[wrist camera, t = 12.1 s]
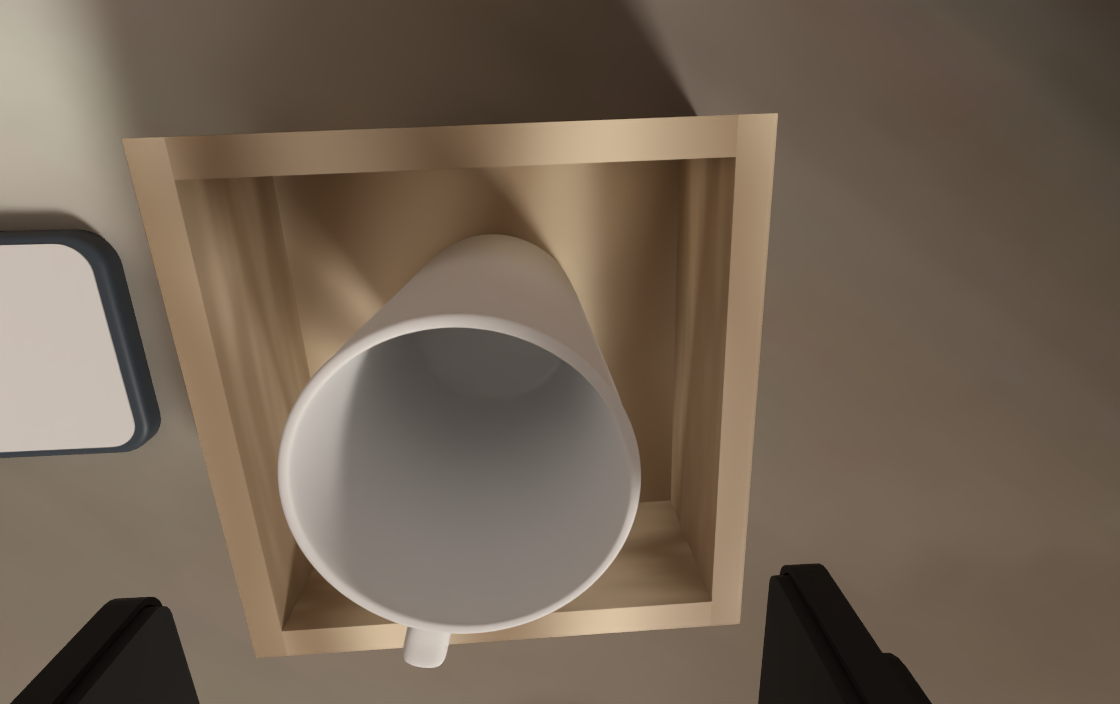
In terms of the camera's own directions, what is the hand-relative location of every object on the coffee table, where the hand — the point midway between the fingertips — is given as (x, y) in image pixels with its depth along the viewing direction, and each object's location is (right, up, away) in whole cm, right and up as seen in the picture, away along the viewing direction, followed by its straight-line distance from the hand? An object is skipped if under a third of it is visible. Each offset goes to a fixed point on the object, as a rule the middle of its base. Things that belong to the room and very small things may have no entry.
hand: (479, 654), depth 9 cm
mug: (-2, +5, +14) cm, 15 cm away
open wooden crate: (-1, +5, +14) cm, 15 cm away
